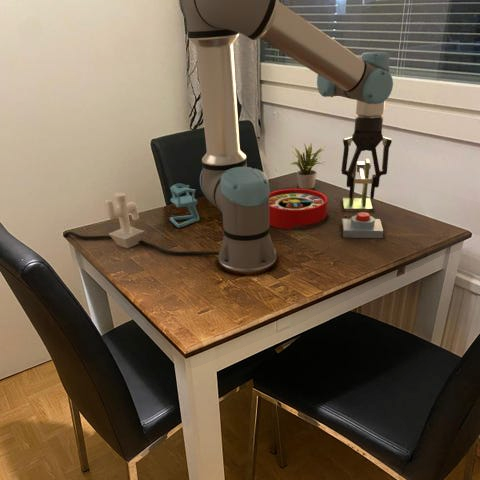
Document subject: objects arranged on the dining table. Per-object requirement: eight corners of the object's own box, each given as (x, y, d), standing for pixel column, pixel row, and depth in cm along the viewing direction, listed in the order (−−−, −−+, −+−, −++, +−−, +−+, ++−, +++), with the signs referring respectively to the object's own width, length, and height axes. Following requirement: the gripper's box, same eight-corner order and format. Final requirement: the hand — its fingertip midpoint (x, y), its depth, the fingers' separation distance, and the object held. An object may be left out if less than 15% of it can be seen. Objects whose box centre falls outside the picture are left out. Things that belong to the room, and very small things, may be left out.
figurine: (149, 241, 144) (141, 191, 136) (123, 252, 138) (114, 200, 130) (132, 236, 148) (124, 186, 140) (107, 246, 142) (97, 196, 134)
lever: (372, 185, 146) (373, 178, 144) (353, 185, 146) (353, 178, 145) (368, 168, 156) (369, 161, 154) (351, 168, 156) (351, 161, 155)
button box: (343, 237, 141) (344, 224, 139) (341, 225, 148) (342, 212, 146) (382, 238, 139) (384, 224, 137) (379, 226, 147) (380, 213, 145)
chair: (202, 222, 155) (199, 185, 148) (178, 228, 152) (173, 189, 145) (193, 215, 160) (190, 178, 154) (169, 220, 157) (164, 183, 151)
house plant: (333, 195, 171) (336, 147, 163) (294, 198, 170) (295, 150, 161) (321, 183, 183) (324, 137, 175) (285, 186, 182) (285, 140, 173)
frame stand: (372, 212, 157) (377, 165, 149) (343, 211, 158) (347, 165, 150) (369, 201, 165) (374, 156, 157) (342, 201, 166) (345, 156, 158)
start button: (356, 222, 141) (357, 216, 140) (356, 217, 144) (356, 211, 143) (369, 222, 140) (370, 216, 139) (368, 217, 143) (369, 212, 142)
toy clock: (261, 189, 161) (323, 187, 160) (262, 206, 164) (322, 205, 164) (263, 211, 144) (331, 209, 144) (263, 230, 148) (330, 228, 147)
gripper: (402, 112, 138) (391, 193, 150) (335, 113, 140) (329, 193, 153) (406, 117, 132) (394, 202, 144) (335, 118, 134) (330, 201, 147)
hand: (361, 197), depth 149 cm, fingers closed on lever, 5 cm apart
